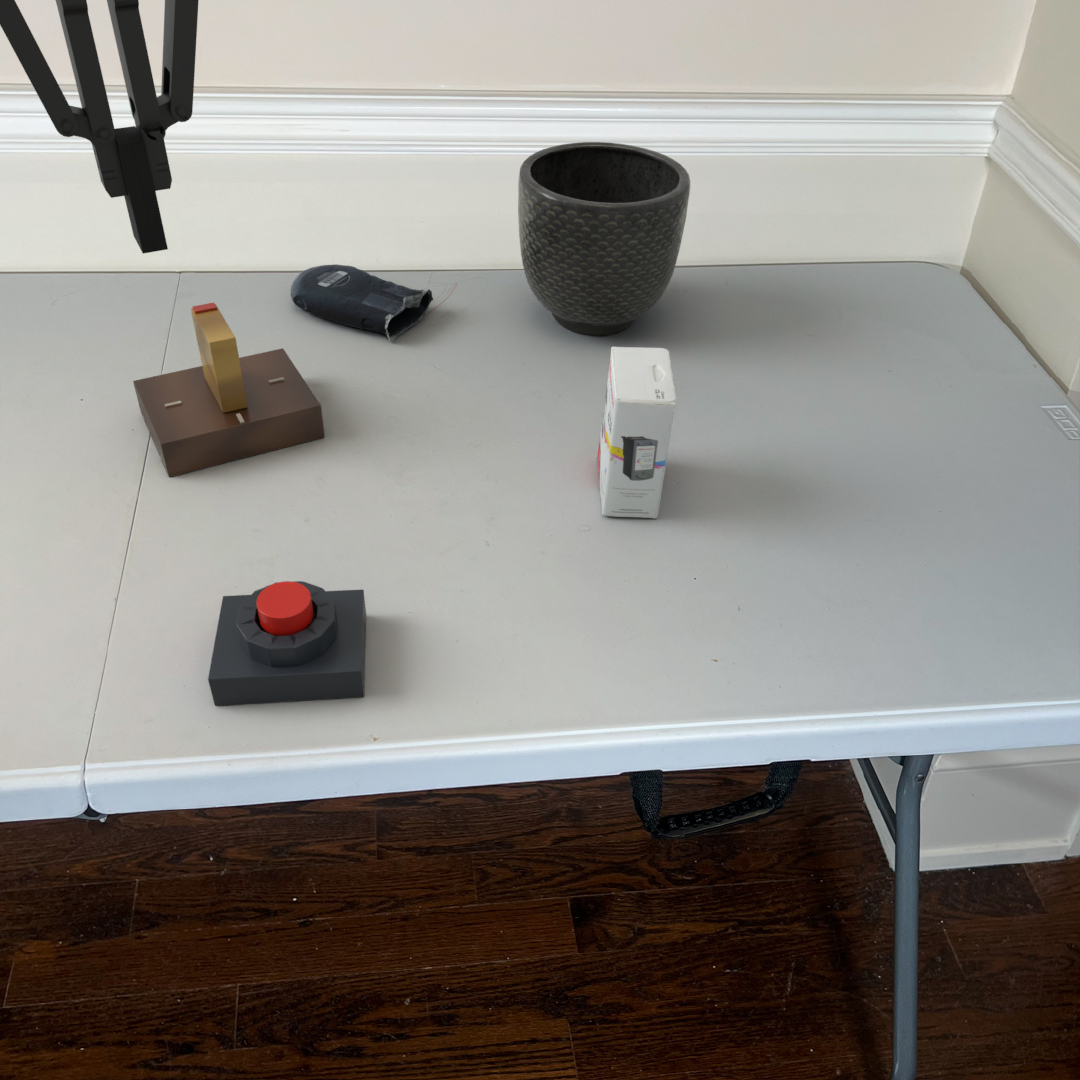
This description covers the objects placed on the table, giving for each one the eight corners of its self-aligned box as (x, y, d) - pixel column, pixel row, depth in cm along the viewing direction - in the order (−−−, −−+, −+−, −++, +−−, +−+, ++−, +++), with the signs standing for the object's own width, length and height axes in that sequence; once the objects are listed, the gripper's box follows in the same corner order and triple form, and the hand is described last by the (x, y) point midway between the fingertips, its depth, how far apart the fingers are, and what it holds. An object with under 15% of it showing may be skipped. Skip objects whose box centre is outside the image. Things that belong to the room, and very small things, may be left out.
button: (257, 637, 69) (253, 619, 68) (262, 600, 72) (259, 582, 71) (312, 635, 69) (309, 616, 68) (315, 598, 72) (312, 579, 71)
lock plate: (168, 477, 89) (160, 442, 86) (141, 413, 96) (132, 379, 94) (325, 437, 94) (321, 403, 92) (287, 379, 101) (282, 346, 99)
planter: (531, 362, 105) (537, 210, 95) (502, 284, 118) (505, 143, 108) (692, 350, 108) (715, 202, 98) (647, 276, 121) (663, 138, 111)
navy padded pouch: (437, 319, 114) (326, 269, 118) (438, 278, 110) (323, 227, 113) (388, 365, 109) (274, 311, 112) (387, 324, 104) (268, 269, 108)
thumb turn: (248, 407, 91) (235, 334, 86) (223, 413, 90) (208, 340, 85) (228, 372, 95) (215, 300, 90) (204, 377, 94) (189, 305, 90)
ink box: (596, 458, 93) (606, 342, 85) (652, 460, 93) (667, 344, 85) (600, 519, 86) (612, 400, 79) (660, 521, 86) (678, 402, 79)
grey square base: (214, 706, 70) (202, 660, 67) (228, 622, 76) (218, 577, 73) (364, 697, 71) (358, 652, 68) (366, 615, 77) (361, 570, 74)
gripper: (167, -244, 53) (239, 202, 68) (-118, -244, 48) (28, 236, 63) (203, -230, 48) (272, 248, 63) (-110, -229, 43) (47, 288, 58)
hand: (150, 242), depth 63 cm, fingers closed
